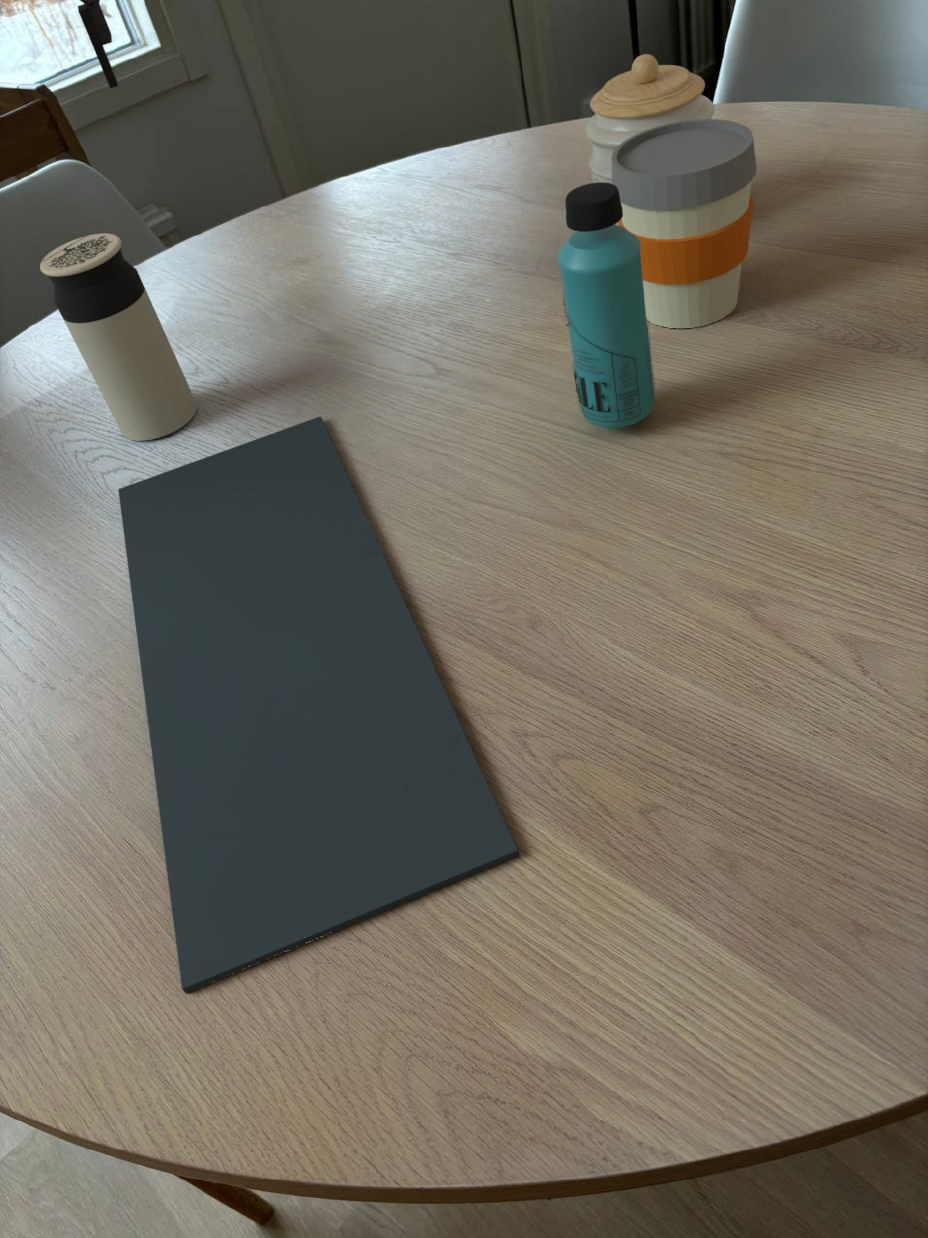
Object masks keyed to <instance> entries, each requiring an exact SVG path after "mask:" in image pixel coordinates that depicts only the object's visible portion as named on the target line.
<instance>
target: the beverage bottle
mask: <svg viewBox="0 0 928 1238" xmlns="http://www.w3.org/2000/svg"><path fill="white" fill-rule="evenodd" d="M564 203H565V223H566V226H567V228H568V229H569V230H571V231H574V233H572V235H570V237H569V238H567V240H566V241H565V242H564V244H563V245H562V247H561V248H560V250H559V252H558V254H557V263H558V266H559V270H560V276H561V283H562V291H563V297H562V301H563V309H564V314H565V318H566V320H565V321H566V322H567V323H566V324H565V326H566V327H568V333H569V340H570V344H571V347H570V349H571V353H572V358H573V365H572V368H573V376H574V385H575V391H576V394H577V398H578V403H577V404H578V407H579V409H580V413H581V414H582V415H583V417H584V419H585V420H586V421H587V422H588V423H589V424H591V425H593V426H596V427H600V428H606V429H615V428H623V427H628V426H631V425H634V424H637V423H639V422H640V421H642V420H643V419H645V418H646V417H648V416H649V415H650V413H651V412H652V411H653V408H654V404H655V402H656V398H655V393H657V391H656V388H657V387H656V379H655V376H654V374H655V371H654V368H653V365H652V362H654V359H653V357H652V355H651V351H653V350H652V346H653V345H652V343H650V340H652V339H651V336H650V334H649V329H650V326H649V325H650V322H648V320H647V319H646V318H647V317H646V310H645V299H644V288H643V277H642V266H641V255H640V251H641V244H640V241H639V239H638V238H637V237H636V236H635V235H634V234H632V233H631V232H629V231H628V230H626V229H625V228H623V227H621V226H618V225H615V224H616V223H617V222H619V221H620V220H621V219H622V217H623V210H622V205H621V201H620V196H619V190H618V188H617V187H616V186H615V185H613V184H610V183H604V182H598V183H593V182H591V183H590V182H589V183H586V184H582V185H580V186H578V187H575V188H573V189H572V190H570V191H569V192H568V193H567V194H566V196H565V200H564Z"/></svg>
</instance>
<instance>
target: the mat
mask: <svg viewBox="0 0 928 1238" xmlns="http://www.w3.org/2000/svg"><path fill="white" fill-rule="evenodd" d="M346 470H347V469H346V468H345V465H344V464H343V462H342V460H341V457H340V455H339V452H338V451H337V448H336V446H335V444H334V442H333V439H332V437H331V434H330V433H329V431H328V429H327V426H326V423H325V422H324V420H323V417H322V416H317V417H314V418H311V419H309V420H306V421H303V422H300V423H297V424H295V425H292V426H289V427H286V428H284V429H280V430H278V431H276V432H272V433H269V434H266V435H264V436H261V437H259V438H255V439H253V440H250V441H247V442H245V443H241V444H240V445H236V446H234V447H231V448H227V449H226V450H223V451H220V452H217V453H215V454H212V455H209V456H206V457H203V458H201V459H198V460H195V461H192V462H190V463H186V464H184V465H181V466H178V467H176V468H173V469H170V470H167V471H164V472H162V473H161V472H160V473H159V474H156V475H153V476H151V477H148V478H146V479H142V480H138V481H137V482H134V483H132V484H128V485H126V486H123V487H120V488H117V490H118V498H119V506H120V514H121V522H122V523H121V524H122V529H123V536H124V545H125V552H126V561H127V571H128V576H129V584H130V592H131V601H132V608H133V615H134V617H133V618H134V622H135V632H136V639H137V647H138V656H139V664H140V671H141V678H142V687H143V694H144V701H145V702H144V703H145V710H146V718H147V725H148V726H147V727H148V733H149V741H150V742H149V743H150V750H151V757H152V766H153V773H154V781H155V789H156V797H157V805H158V811H159V819H160V820H159V821H160V828H161V836H162V843H163V851H164V860H165V868H166V875H167V882H168V890H169V898H170V906H171V907H170V908H171V914H172V921H173V923H172V924H173V930H174V937H175V945H176V953H177V961H178V968H179V976H180V984H181V990H182V991H183V992H184V993H185V994H190V993H192V992H195V991H197V990H199V989H201V988H204V987H207V986H208V984H209V983H211V984H213V983H214V982H213V981H216V982H218V981H220V980H219V979H221V978H223V979H225V978H224V977H226V978H227V975H230V976H232V975H231V974H232V973H235V972H238V971H240V972H242V971H243V970H242V969H244V968H247V969H249V968H248V966H251V965H254V964H256V963H258V962H261V961H264V962H266V961H265V960H266V959H268V958H271V957H274V955H277V954H280V953H283V952H284V951H287V950H291V949H293V950H295V949H296V948H295V947H296V946H300V945H303V944H305V943H306V942H309V941H312V940H315V941H317V940H316V938H320V937H321V936H324V935H326V934H329V933H330V932H334V931H336V930H339V929H341V930H343V929H342V928H344V929H346V928H348V927H350V926H353V925H355V923H356V924H357V922H358V923H360V922H359V921H361V922H363V921H365V920H367V919H370V918H372V917H375V916H377V915H380V914H382V913H384V912H387V911H389V910H392V909H394V908H396V907H399V906H401V905H404V904H406V903H409V902H411V901H413V900H416V899H419V898H421V897H423V896H426V895H428V894H431V893H433V892H435V891H438V890H440V889H443V888H445V887H447V886H450V885H452V884H454V883H457V882H459V881H461V880H464V879H466V878H469V877H471V876H474V875H477V874H479V873H481V872H483V871H486V870H489V869H491V868H493V867H495V866H498V865H500V864H503V863H505V862H507V861H510V860H512V859H514V858H517V857H519V856H520V852H519V849H518V847H517V845H516V843H515V841H514V838H513V836H512V834H511V832H510V829H509V827H508V825H507V822H506V820H505V819H504V816H503V814H502V812H501V809H500V807H499V805H498V803H497V801H496V798H495V796H494V794H493V792H492V790H491V787H490V785H489V783H488V781H487V778H486V777H485V774H484V772H483V770H482V767H481V765H480V763H479V761H478V758H477V757H476V754H475V752H474V751H473V748H472V746H471V744H470V742H469V739H468V737H467V734H466V732H465V730H464V728H463V726H462V724H461V722H460V719H459V717H458V715H457V713H456V710H455V708H454V706H453V704H452V702H451V699H450V697H449V695H448V692H447V691H446V689H445V686H444V684H443V682H442V679H441V677H440V675H439V672H438V670H437V669H436V666H435V664H434V661H433V660H432V658H431V655H430V653H429V651H428V649H427V647H426V644H425V643H424V642H425V641H424V640H423V638H422V635H421V632H419V629H418V626H417V625H416V622H415V621H414V618H413V616H412V613H411V611H410V609H409V607H408V605H407V602H406V600H405V598H404V596H403V594H402V591H401V589H400V587H399V585H398V583H397V580H396V578H395V576H394V574H393V571H392V569H391V567H390V565H389V563H388V561H387V559H386V556H385V553H384V551H383V549H382V548H381V545H380V543H379V541H378V539H377V536H376V534H375V532H374V530H373V528H372V526H371V523H370V521H369V519H368V516H367V514H366V512H365V510H364V508H363V506H362V503H361V501H360V499H359V496H358V494H357V493H356V490H355V488H354V486H353V483H352V481H351V479H350V477H349V474H348V473H347V471H346ZM362 920H363V921H362ZM352 924H353V925H352ZM347 926H348V927H347ZM345 927H346V928H345ZM339 931H340V930H339ZM336 932H337V931H336ZM334 933H335V932H334ZM329 935H330V934H329ZM324 937H325V936H324ZM320 939H321V938H320ZM312 942H313V941H312ZM305 945H306V944H305ZM303 946H304V945H303ZM300 947H301V946H300ZM294 948H295V949H294ZM291 951H292V950H291ZM283 954H284V953H283ZM274 958H275V957H274ZM271 959H272V958H271ZM254 966H255V965H254ZM241 970H242V971H241ZM238 973H239V972H238ZM235 974H236V973H235ZM217 980H218V981H217ZM221 980H222V979H221ZM209 985H210V984H209ZM203 986H204V987H203ZM191 991H192V992H191Z"/></svg>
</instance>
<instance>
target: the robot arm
mask: <svg viewBox="0 0 928 1238" xmlns="http://www.w3.org/2000/svg"><path fill="white" fill-rule="evenodd" d="M79 1H80V2H81V3H82V4H80V5H77V11H78V14H79V16H80V19H81V21H82V23H83V27H84V29H85V31H86V33H87V36H88V39H89V40H90V43H91V46H92V48H93V50H94V52H95V56H96V58H97V60H98V62H99V65H100V67H101V69H102V72H103V74H104V77H105V79H106V82H107V84H108V87H109V89H110V90H111V89H114V88H117V87H119V84H118V79H117V76H116V74H115V71H114V70H113V67H112V65H111V62H110V59H109V57H108V54H107V52H106V50H105V47H104V46H105V45H107V44H111V43H113V39H112V37H113V36H112V32H111V29H110V27H109V24H108V21H107V19H106V17H105V14H104V12H103V9H102V7H101V4H100V1H101V0H79Z"/></svg>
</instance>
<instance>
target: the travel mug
mask: <svg viewBox="0 0 928 1238" xmlns="http://www.w3.org/2000/svg"><path fill="white" fill-rule="evenodd" d="M121 247H122V240H121V238H120V237H119V236H117V235H116V234H114V233H113V234H112V233H104V232H103V233H95V234H94V233H93V234H89V235H85V236H82V237H78V238H75V239H72V240H71V241H68V242H66V243H64V244H62V245H60V246H58V247H56V248H55V249H53V250H52V251H50V252H49V253H48V254H46V255H45V256H44V257H43V259H42V260H41V262H40V265H39V269H40V271H41V273H43V275H46V276H47V277H48V278H49V280H50V281H51V282H52V284H53V302H54V304H55V306H56V308H57V310H58V313H59V314H60V316H61V318H62V320H63V322H64V323H65V325H66V327H67V329H68V331H69V334H70V335H71V337H72V339H73V341H74V343H75V345H76V347H77V349H78V350H79V351H78V352H80V355H81V356H82V359H83V360H84V362H85V364H86V366H87V369H88V370H89V372H90V374H91V376H92V377H93V379H94V381H95V383H96V385H97V387H98V389H99V391H100V393H101V395H102V397H103V398H104V401H105V403H106V405H107V407H108V409H109V411H110V412H111V414H112V416H113V418H114V420H115V422H116V424H117V426H118V428H119V430H120V431H121V433H122V435H123V436H124V437H125V438H126V439H128V440H132V441H151V440H157V439H156V438H158V439H161V438H163V436H164V437H166V435H167V436H169V435H171V434H173V433H175V432H177V431H178V430H180V429H181V428H183V427H184V426H185V425H186V424H188V422H190V421H191V419H193V417H194V416H195V414H196V412H197V409H198V403H197V401H196V399H195V397H194V394H193V393H192V390H191V387H190V385H189V383H188V381H187V379H186V376H185V374H184V372H183V370H182V367H181V365H180V363H179V361H178V359H177V357H176V353H175V352H174V350H173V348H172V345H171V343H170V341H169V339H168V337H167V334H166V332H165V330H164V326H163V325H162V323H161V320H160V319H159V316H158V313H157V312H156V310H155V307H154V305H153V303H152V300H151V297H150V296H149V294H148V292H147V289H146V287H145V285H144V283H143V281H142V278H141V276H140V273H139V271H138V270H137V269H136V267H135V266H134V265H132V264H131V263H130V262H128V261H127V259H125V258H124V255H123V252H122V249H121ZM160 437H161V438H160Z"/></svg>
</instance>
